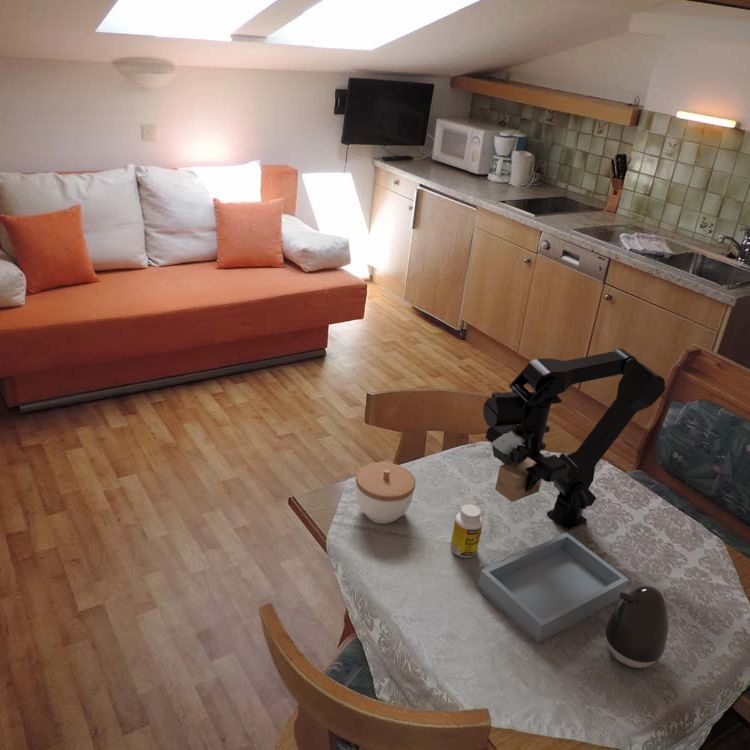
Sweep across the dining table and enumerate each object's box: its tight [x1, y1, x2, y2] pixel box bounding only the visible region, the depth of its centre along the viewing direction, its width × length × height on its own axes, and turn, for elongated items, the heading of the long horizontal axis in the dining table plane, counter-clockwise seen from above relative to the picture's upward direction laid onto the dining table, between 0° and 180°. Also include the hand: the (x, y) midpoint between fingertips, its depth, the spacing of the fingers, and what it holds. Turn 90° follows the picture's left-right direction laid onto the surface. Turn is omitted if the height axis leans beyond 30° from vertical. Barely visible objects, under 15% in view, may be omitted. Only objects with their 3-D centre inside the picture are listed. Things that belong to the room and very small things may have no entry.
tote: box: [477, 532, 630, 645], centre depth 146 cm, size 24×16×4 cm, turn 125°
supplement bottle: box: [450, 504, 484, 559], centre depth 153 cm, size 6×6×10 cm
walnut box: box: [495, 458, 543, 503], centre depth 158 cm, size 8×5×6 cm, turn 125°
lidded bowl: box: [355, 461, 416, 524], centre depth 162 cm, size 13×13×11 cm
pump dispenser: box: [604, 584, 670, 669], centre depth 131 cm, size 10×10×15 cm
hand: (518, 484), depth 159 cm, fingers closed on walnut box, 5 cm apart
